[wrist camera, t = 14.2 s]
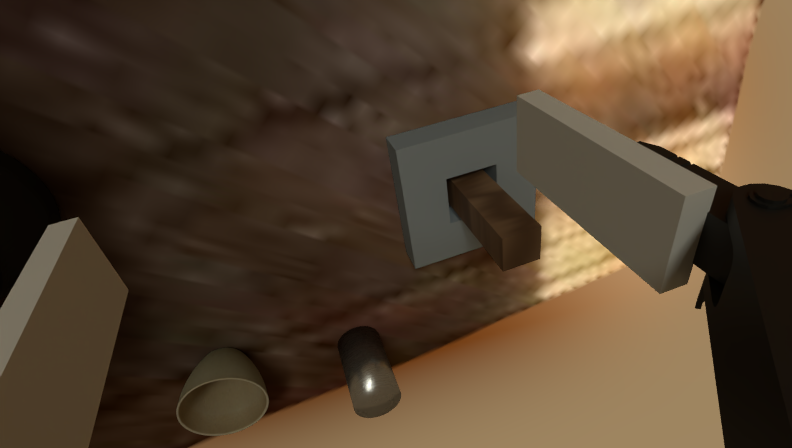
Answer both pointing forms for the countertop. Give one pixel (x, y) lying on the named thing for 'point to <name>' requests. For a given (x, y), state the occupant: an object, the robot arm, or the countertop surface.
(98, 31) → the countertop surface
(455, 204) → the wooden square peg
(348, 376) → the round bit
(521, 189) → the socket plate
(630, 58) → the countertop surface
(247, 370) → the flower pot
